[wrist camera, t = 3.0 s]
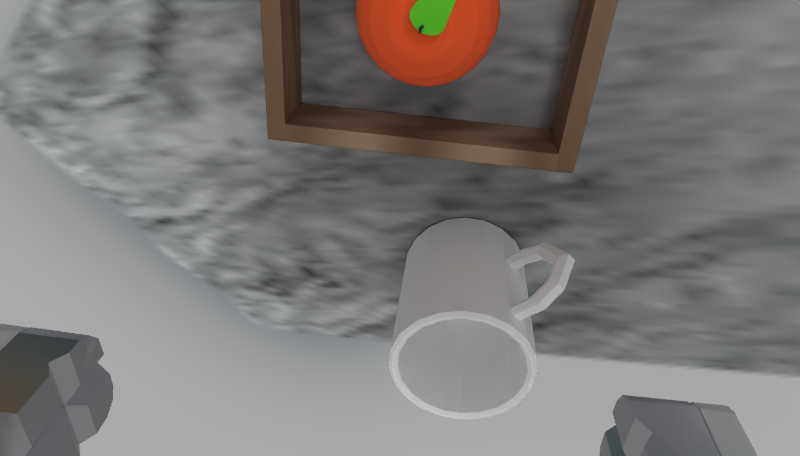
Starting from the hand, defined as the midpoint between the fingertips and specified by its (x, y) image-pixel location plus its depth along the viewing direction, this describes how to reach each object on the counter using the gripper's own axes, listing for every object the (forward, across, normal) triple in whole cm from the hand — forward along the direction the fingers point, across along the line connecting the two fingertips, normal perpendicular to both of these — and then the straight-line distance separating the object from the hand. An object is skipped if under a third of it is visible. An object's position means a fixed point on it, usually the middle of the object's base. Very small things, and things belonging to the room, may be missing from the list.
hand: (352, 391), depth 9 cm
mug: (+26, -5, +14) cm, 30 cm away
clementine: (+26, 0, -2) cm, 26 cm away
